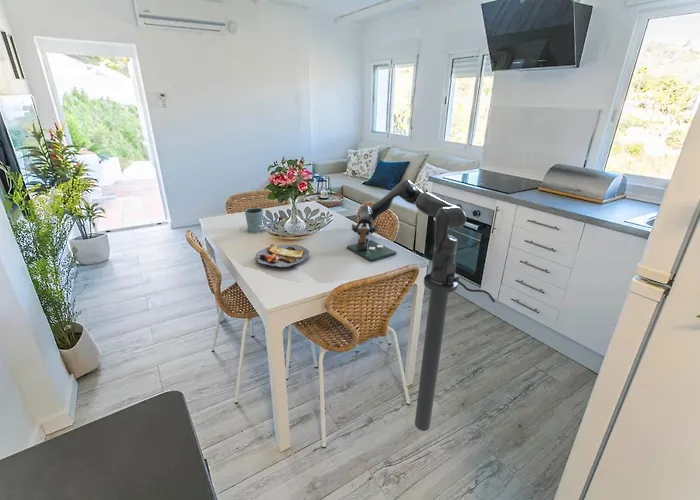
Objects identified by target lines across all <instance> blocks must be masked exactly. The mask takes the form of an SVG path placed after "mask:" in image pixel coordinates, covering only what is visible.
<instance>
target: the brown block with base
mask: <svg viewBox="0 0 700 500" xmlns="http://www.w3.org/2000/svg"><path fill="white" fill-rule="evenodd" d="M366 229H367V227H360V235H359V238H358V241H357V243H358V244H357V243H356V244H357V250H367V248H368V241H369V238H367V236H366Z"/></svg>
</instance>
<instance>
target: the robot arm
mask: <svg viewBox="0 0 700 500" xmlns="http://www.w3.org/2000/svg"><path fill="white" fill-rule="evenodd" d="M396 197H400V198H401V199H403V200H404V201H405V202H406V203H408V204H411V205H413V206H415V207H416V209H417V210H419V211H420V212H421V213H423V214H424V215H426V216H430V217H433V218H434V217H435V218H434V233H433V234H434V245H433V253H432V260H431V270H430V273H429V274H430V275H431V277H430V280H431V281H432V282H433V283H435V284H438V285H443V286H446V285H449V284H452V283H454V282H457V283H458V285H460V286H461V287H463V288H464V290H466V291H468V292H470V293H471V292H473V293H484V294H486V295H487V296H488V297H489V298H490V301H492V303H496V300H495V298H494V297H493V295H492V294H491V293H490V292H489V291H487V290H484V289H473V288H469V287H467V285H465V284H464V283H463V282H462V281H459V280H460V275H458V274H456V270H457V262H456V254H457V248H458V238H457V237H455V236H454V235H452V234H449V231H450V230H458V229H461V228H463V227H464V226H465V225H466V222H467V214H466V212H465V211H464V210H463V208H461V207H459V206H457V205H454V204H451V203H449V202H447V201H445V200H443V199H441V198H439V197H437V196H436V195H434V194H432V193H430V192H426V191H425V192H424V191H422V190H421V189H420V188H419V187H418V186H416V185H415V184H414V183H413V182H412V181H411V180H408V179H403V180H402V181H400V182H399V183H398V184H396V185H395V186H394V187H393V188H392V189H391V190H390V191H389V192H388V193H386V194H385V195H384V196H383V197H382V198H380V199H379V200H377V201H376V202H374V203H372V205H370V206H371V207H370V206H369V205H363V206H362V207H360V209H359V211H358V215H359V220H358V221H357V222H358V223H357V224H356V225H355V224H354V223H352V224H351V230H352V231H353V232H354V233H356V235H358V236H360V227H367V229H366V237H368V235H369V234H374V233H375V232H377V231H378V225H373V224H374V222H375V220H376V219H377V218H378V217H379V216H380V215H381V214H383V213H385V212H387V211H388V210H389V209H390V208H391V206H392V203H393V200H394V199H395V198H396Z"/></svg>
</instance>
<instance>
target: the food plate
mask: <svg viewBox="0 0 700 500" xmlns="http://www.w3.org/2000/svg"><path fill="white" fill-rule="evenodd" d="M310 255H311V252H310V250H309V249H308V248H307V247H304V246H303V245H297V244H288V243H287V244H278V245H275V244H271V245H270V246H268V247H265V248H263V249H261V250H259V251H258V252H257V253H256V254H255V257H254V259H255V260H256V262H258V264H262V265H266V266H269V267H278V268H285V267H286V268H287V267H291V266H293V265H296V264H297V265H298V264H299V263H302V262H303V261H305V260H306V259H307V258H308V257H310Z"/></svg>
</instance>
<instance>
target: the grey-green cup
mask: <svg viewBox="0 0 700 500" xmlns="http://www.w3.org/2000/svg"><path fill="white" fill-rule="evenodd" d="M244 215H245V220H246V225H247V229H248V232H249V233H259V232H263V231H264V230H262V229H261V228H260V227H259V226H258V225H262V220H263V221H264V210H263V208H259V207H251V208H247V209H245V210H244Z"/></svg>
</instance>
